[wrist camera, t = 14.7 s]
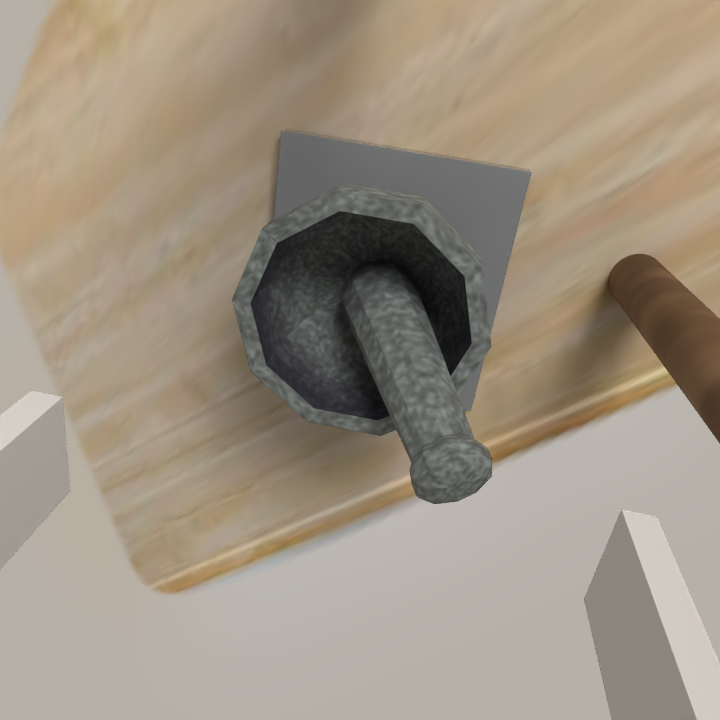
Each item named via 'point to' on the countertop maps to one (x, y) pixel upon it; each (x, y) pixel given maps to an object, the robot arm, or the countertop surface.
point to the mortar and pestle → (373, 326)
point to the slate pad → (419, 177)
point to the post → (673, 330)
